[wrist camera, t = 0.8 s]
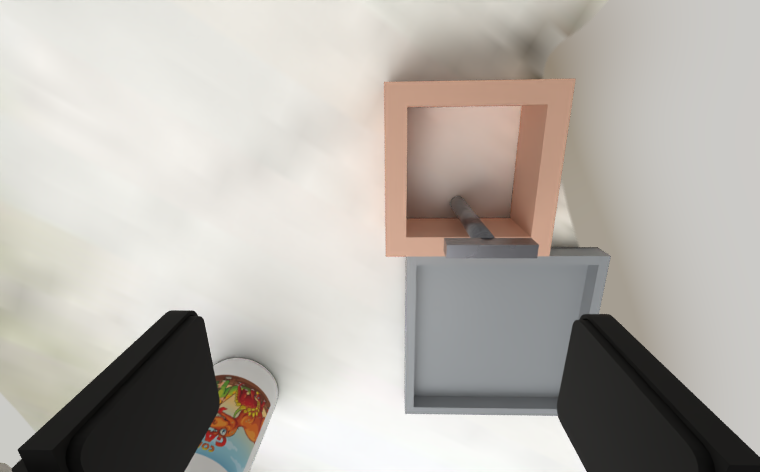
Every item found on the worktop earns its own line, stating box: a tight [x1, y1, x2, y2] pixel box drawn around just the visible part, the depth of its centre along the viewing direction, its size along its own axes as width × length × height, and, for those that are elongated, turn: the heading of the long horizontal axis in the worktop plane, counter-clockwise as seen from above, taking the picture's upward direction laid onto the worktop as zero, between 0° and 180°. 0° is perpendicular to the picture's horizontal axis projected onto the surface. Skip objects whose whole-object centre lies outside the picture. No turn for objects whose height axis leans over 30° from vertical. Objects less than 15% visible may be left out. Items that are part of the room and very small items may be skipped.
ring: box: [384, 79, 575, 257], centre depth 27 cm, size 12×12×5 cm
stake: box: [443, 196, 539, 258], centre depth 25 cm, size 1×5×11 cm, turn 90°
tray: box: [405, 247, 611, 416], centre depth 34 cm, size 17×17×2 cm
